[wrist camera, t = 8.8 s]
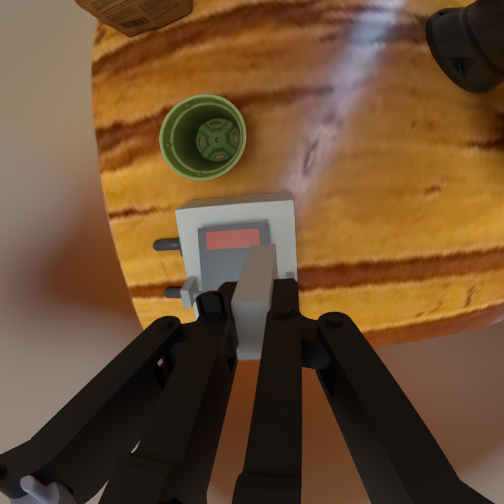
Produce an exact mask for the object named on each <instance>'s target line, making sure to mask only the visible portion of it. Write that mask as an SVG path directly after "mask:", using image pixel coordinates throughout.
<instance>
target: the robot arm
mask: <svg viewBox="0 0 504 504" xmlns="http://www.w3.org/2000/svg"><path fill="white" fill-rule="evenodd" d="M426 35H427V40H428V44H429V47H430V49H431V51H432V54H433V56H434V57H435V59H436V61H437V62H438V64H439V66H440V67H441V68H442V70H443V71H444V72H445V73H446V74H447V76H448V77H449V78H450V79H451V80H452V81H454V82H455V83H456V84H457V85H458V86H460V87H461V88H463V89H465V90H467V91H469V92H472V93H484V92H489V91H492V90H494V89H495V88H496V87H497V86H498V85H500V84H501V83H502V82H503V81H504V0H477V1H475V2H473V3H472V4H470V5H468V6H467V7H456V8H445V9H441V10H439V11H437V12H436V13H434V14H433V15H432V16H431V17H430V18H429V19H428V22H427V25H426ZM195 301H196V305H197V309H198V314H199V316H198V318H197V320H196V321H195V322H191V323H185V324H181V322H180V320H179V319H178V318H177V317H175V316H164V317H161V318H158V319H157V320H155V321H154V322H153V323H152V324H150V325H149V326H148V327H147V328H146V329H145V330H144V331H143V332H142V333H141V334H140V335H139V336H138V337H137V338H136V339H134V340H133V341H132V342H131V343H130V344H129V345H128V346H127V347H126V348H125V349H124V350H123V351H122V352H121V353H119V354H118V355H117V356H116V357H115V358H114V359H113V360H112V361H111V362H110V363H109V364H108V365H107V366H106V367H105V368H104V369H102V371H100V372H99V373H98V374H97V375H96V376H95V377H94V378H93V379H92V380H91V381H90V382H89V383H88V384H87V385H86V386H85V387H84V388H83V389H81V390H80V392H78V393H77V394H76V395H75V396H74V397H73V398H72V399H71V400H70V401H69V402H68V403H67V404H66V405H65V406H64V407H63V408H62V409H61V410H60V411H59V412H58V413H57V414H56V415H55V416H54V417H53V418H52V419H51V420H50V421H48V423H46V424H45V426H43V427H42V428H41V429H40V430H39V431H38V432H37V433H36V434H35V435H34V436H33V437H32V438H31V439H30V440H29V441H27V442H25V443H23V444H21V445H19V446H17V447H15V448H13V449H11V450H9V451H7V452H5V453H3V454H0V491H1V492H2V493H3V494H5V495H6V496H8V497H9V499H10V501H11V504H85V503H86V502H87V501H89V500H90V499H91V498H92V497H94V496H95V495H96V494H97V493H98V492H99V490H100V489H101V488H102V487H103V486H104V485H105V483H106V482H107V481H108V480H109V481H108V483H107V485H106V487H105V490H104V492H103V494H102V496H101V498H100V501H99V503H98V504H207V490H208V485H209V481H210V477H211V473H212V469H213V465H214V461H215V456H216V452H217V448H218V444H219V440H220V435H221V431H222V427H223V423H224V419H225V414H226V410H227V406H228V402H229V397H230V393H231V388H232V384H233V380H234V376H235V371H236V367H237V363H238V358H237V353H236V352H237V348H239V353H240V354H261V359H260V367H259V374H258V380H257V387H256V393H255V400H254V406H253V413H252V419H251V426H250V431H249V438H248V444H247V450H246V456H245V462H244V468H243V471H242V473H241V474H240V475H239V476H238V478H237V480H236V485H235V489H234V494H233V499H232V504H301V482H302V480H301V479H302V477H301V466H302V367H307V368H312V369H316V374H317V376H318V379H319V381H320V383H321V385H322V388H323V390H324V393H325V394H326V397H327V400H328V402H329V404H330V407H331V409H332V411H333V413H334V416H335V418H336V421H337V423H338V425H339V427H340V430H341V432H342V435H343V437H344V439H345V442H346V444H347V446H348V449H349V451H350V454H351V456H352V458H353V461H354V463H355V465H356V468H357V470H358V473H359V475H360V477H361V480H362V482H363V485H364V487H365V489H366V492H367V494H368V496H369V499H370V501H371V504H494V503H493V502H491V501H490V500H488V499H487V498H485V497H484V496H482V495H481V494H479V493H478V492H477V491H475V490H474V489H472V488H471V487H469V486H468V485H467V484H465V483H464V482H462V481H461V480H460V479H459V478H458V476H457V474H456V472H455V471H454V469H453V467H452V466H451V464H450V463H449V461H448V459H447V458H446V456H445V455H444V453H443V451H442V450H441V448H440V447H439V445H438V443H437V442H436V440H435V439H434V437H433V436H432V434H431V433H430V431H429V429H428V428H427V426H426V425H425V423H424V422H423V420H422V419H421V417H420V416H419V414H418V413H417V411H416V410H415V408H414V407H413V405H412V404H411V402H410V401H409V399H408V398H407V397H406V395H405V394H404V392H403V391H402V390H401V388H400V386H399V385H398V383H397V382H396V380H395V379H394V378H393V376H392V375H391V373H390V372H389V371H388V369H387V368H386V366H385V365H384V363H383V362H382V361H381V359H380V358H379V356H378V355H377V354H376V352H375V351H374V350H373V348H372V347H371V345H370V344H369V343H368V341H367V340H366V338H365V337H364V336H363V334H362V333H361V332H360V330H359V329H358V328H357V326H356V325H355V323H354V322H353V321H352V319H351V318H350V317H349V316H348V315H346V314H344V313H341V312H328V313H325V314H323V315H321V316H320V317H319V319H318V320H313V319H309V318H306V317H304V316H303V315H302V314H301V313H300V311H299V296H298V283H297V281H296V280H295V279H294V278H286V279H278V269H277V256H276V244H260V245H251V246H250V249H249V252H248V254H247V257H246V260H245V263H244V266H243V269H242V272H241V275H240V277H239V280H238V281H231V282H224V283H223V284H222V285H221V286H219V288H218V291H207V292H204V293H201V294H200V295H198V296H197V297H196V298H195ZM161 358H162V361H163V363H162V364H161V365H160V366H158V363H157V362H158V361H159V360H160V359H161ZM139 441H140V443H139V445H138V447H137V449H136V450H135V452H133V453H131V451H132V450H133V449H134V448H135V446H136V445H137V444H138V442H139Z"/></svg>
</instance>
